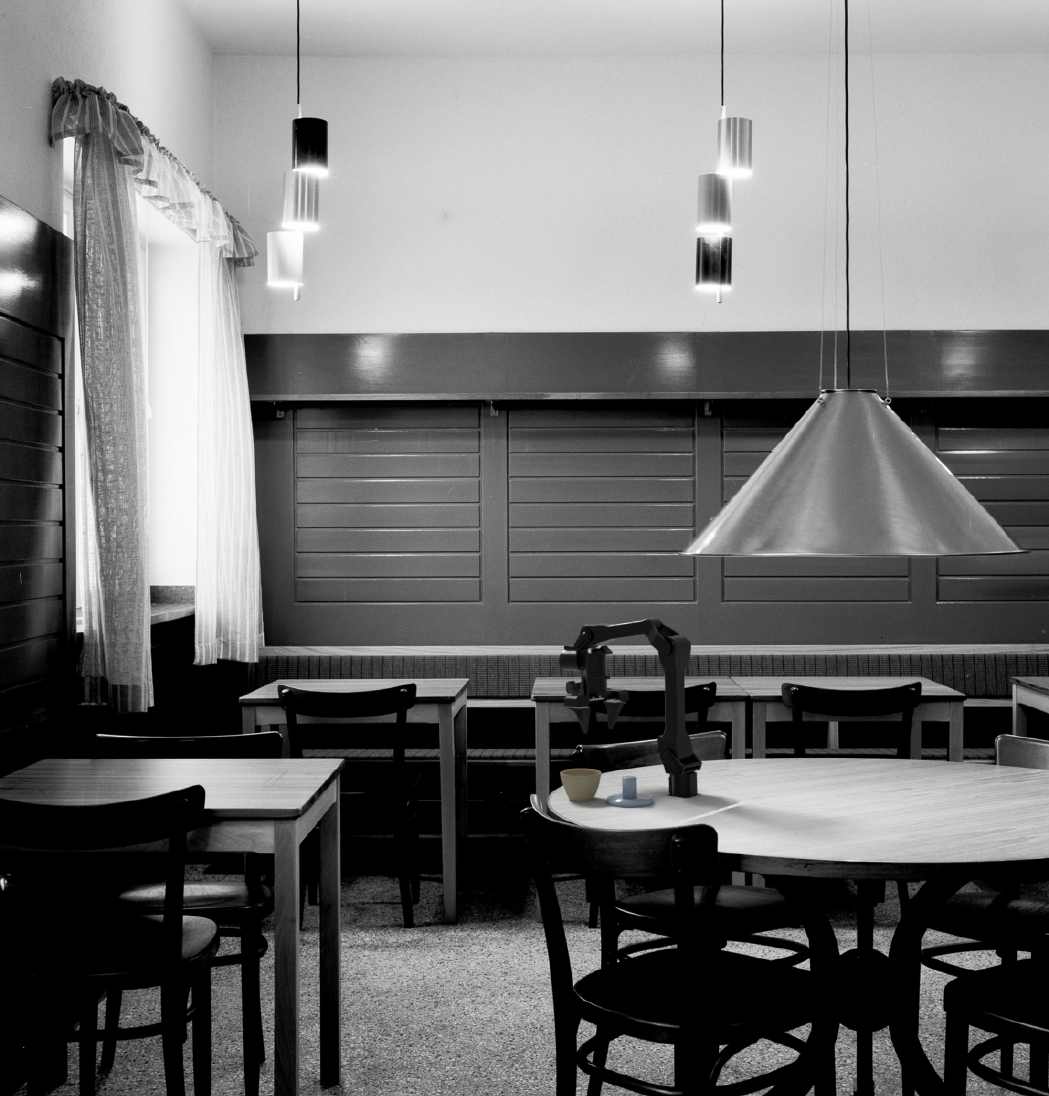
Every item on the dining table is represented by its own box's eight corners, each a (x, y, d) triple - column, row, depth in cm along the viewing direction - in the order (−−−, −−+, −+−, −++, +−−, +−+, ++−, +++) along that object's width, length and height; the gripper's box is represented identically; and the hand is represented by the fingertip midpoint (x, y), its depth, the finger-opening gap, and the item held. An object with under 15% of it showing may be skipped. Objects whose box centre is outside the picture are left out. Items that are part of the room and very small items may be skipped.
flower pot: (586, 807, 274) (586, 777, 274) (553, 802, 280) (552, 773, 280) (609, 799, 282) (609, 770, 282) (576, 795, 288) (575, 766, 288)
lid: (662, 801, 276) (661, 776, 276) (633, 809, 268) (632, 783, 268) (626, 795, 283) (625, 771, 283) (597, 803, 275) (597, 778, 275)
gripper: (600, 667, 313) (602, 724, 313) (549, 673, 301) (551, 732, 301) (629, 669, 304) (631, 727, 304) (577, 675, 292) (580, 736, 292)
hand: (598, 730), depth 300 cm, fingers open, 9 cm apart
